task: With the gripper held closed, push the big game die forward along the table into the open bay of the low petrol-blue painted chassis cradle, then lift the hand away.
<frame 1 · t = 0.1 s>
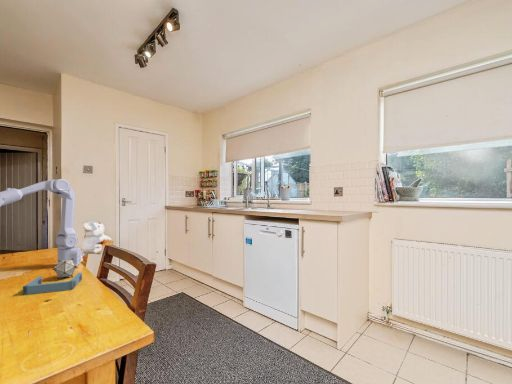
chassis: (55, 286, 99), on the table
game die: (65, 278, 109), on the table
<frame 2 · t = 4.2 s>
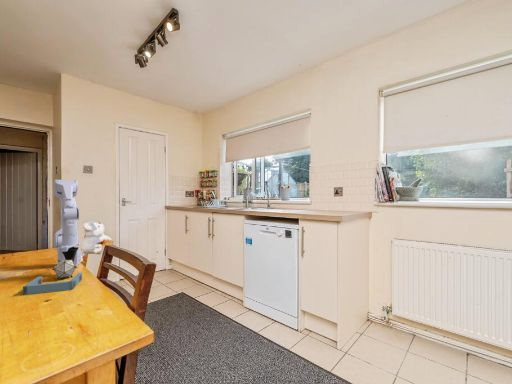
hand: (70, 264, 114), 4 cm above the table, tool pointing down, fingers closed
game die: (65, 278, 109), on the table, touching gripper
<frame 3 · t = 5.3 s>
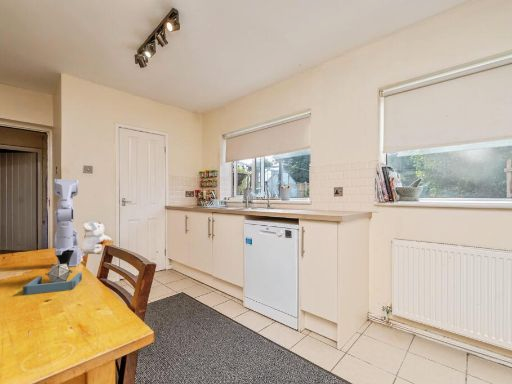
hand: (64, 268, 108), 4 cm above the table, tool pointing down, fingers closed
game die: (59, 283, 103), on the table, touching gripper
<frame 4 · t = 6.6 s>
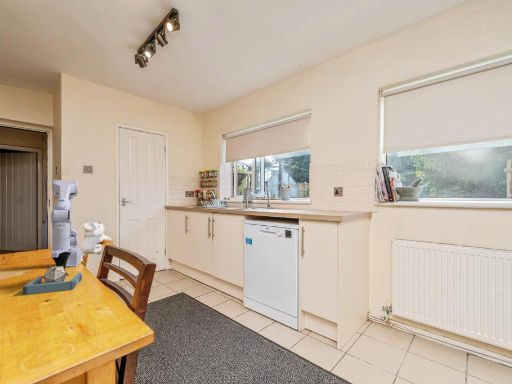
hand: (61, 270, 104), 4 cm above the table, tool pointing down, fingers closed
game die: (55, 286, 99), on the table, touching gripper
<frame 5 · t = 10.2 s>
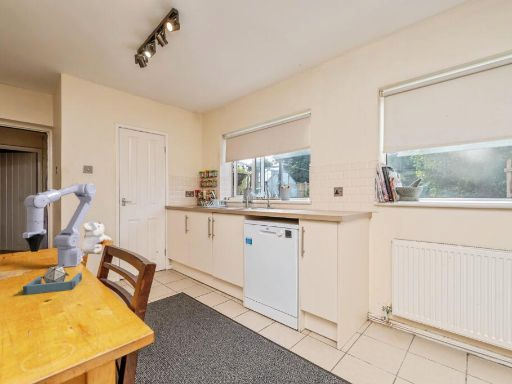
hand: (34, 251, 113), 10 cm above the table, tool pointing down, fingers closed
game die: (55, 286, 99), on the table
at the end: game die 0.8 cm from the target spot on the chassis, point 0.0 cm above the chassis's base; game die tilted 0°; game die moved 10.6 cm from its start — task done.
